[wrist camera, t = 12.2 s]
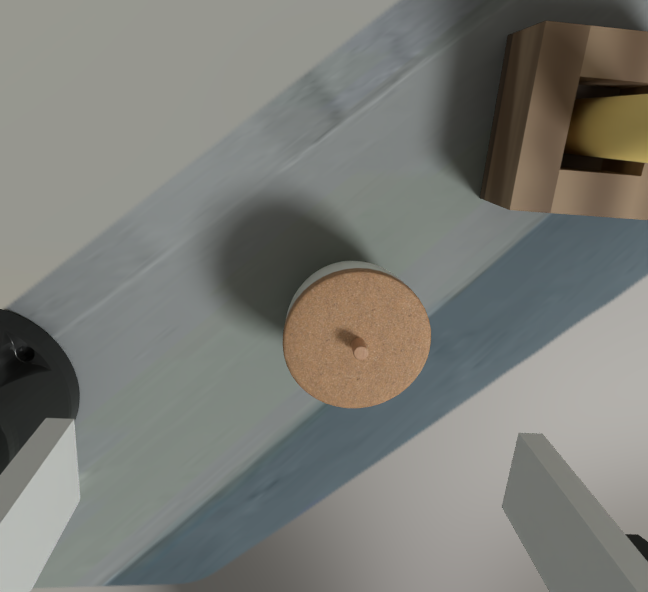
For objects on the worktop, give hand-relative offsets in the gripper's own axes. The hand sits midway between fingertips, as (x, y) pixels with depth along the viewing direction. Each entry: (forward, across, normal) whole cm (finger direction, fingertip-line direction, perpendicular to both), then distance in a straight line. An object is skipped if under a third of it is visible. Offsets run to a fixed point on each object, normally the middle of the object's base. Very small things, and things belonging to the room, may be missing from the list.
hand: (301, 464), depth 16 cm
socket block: (+29, +21, +11) cm, 37 cm away
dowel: (+28, +21, +11) cm, 36 cm away
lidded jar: (+29, +5, -5) cm, 30 cm away
